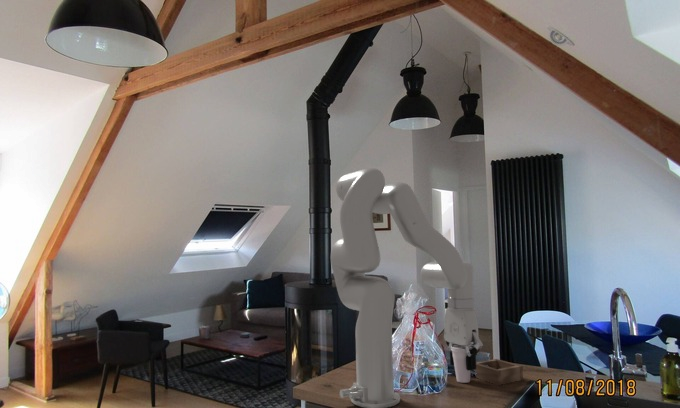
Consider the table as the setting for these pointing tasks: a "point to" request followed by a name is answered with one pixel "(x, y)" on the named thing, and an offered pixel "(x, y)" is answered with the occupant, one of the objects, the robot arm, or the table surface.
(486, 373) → the box
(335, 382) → the table surface
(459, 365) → the smoothie
